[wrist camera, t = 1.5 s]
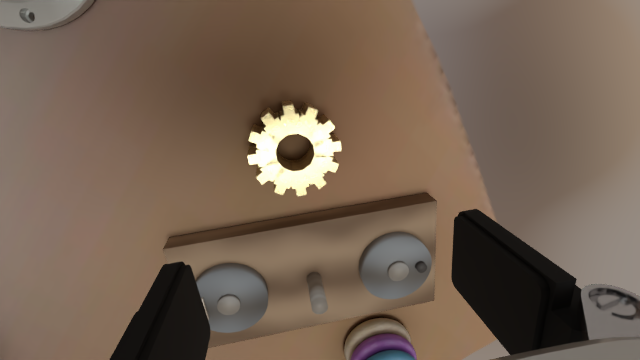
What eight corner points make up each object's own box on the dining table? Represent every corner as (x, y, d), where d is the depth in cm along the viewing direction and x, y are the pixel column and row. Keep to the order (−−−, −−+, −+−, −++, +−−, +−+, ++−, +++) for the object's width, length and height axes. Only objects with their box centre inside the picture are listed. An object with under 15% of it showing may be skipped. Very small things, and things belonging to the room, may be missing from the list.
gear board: (169, 237, 29) (145, 279, 23) (426, 192, 31) (460, 220, 26) (202, 334, 33) (189, 388, 28) (425, 288, 36) (454, 329, 30)
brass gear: (241, 107, 26) (238, 112, 23) (329, 95, 26) (336, 98, 24) (258, 189, 28) (257, 202, 26) (337, 176, 29) (344, 188, 26)
